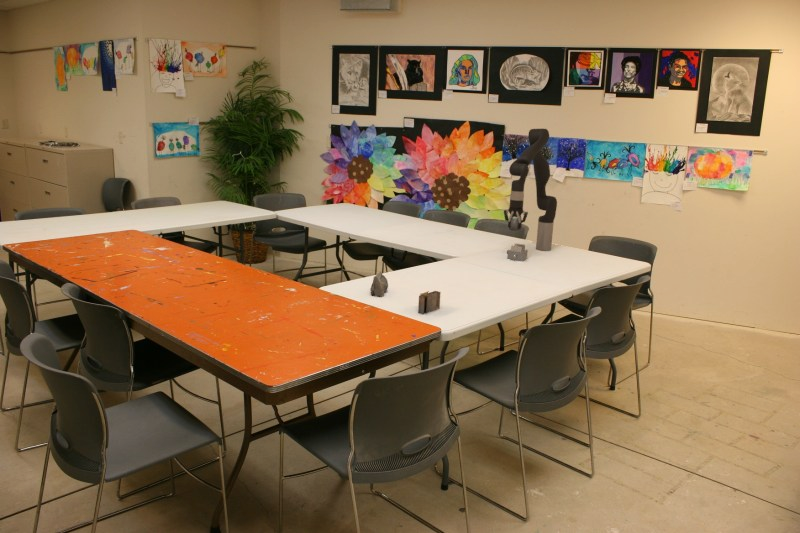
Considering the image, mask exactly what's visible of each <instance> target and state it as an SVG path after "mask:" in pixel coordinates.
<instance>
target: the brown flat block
mask: <svg viewBox="0 0 800 533" xmlns="http://www.w3.org/2000/svg"><path fill="white" fill-rule="evenodd" d="M440 306H441V291H438V290H433V291H430V292H429V291H428V290H427V291H426V292H423V293H420V294H419V295H418V309H417V310H418V311H417V312H418V314H421V315H424V314H428V313H431V312H434V311H437V310H440V308H441V307H440ZM424 312H425V313H424Z"/></svg>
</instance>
